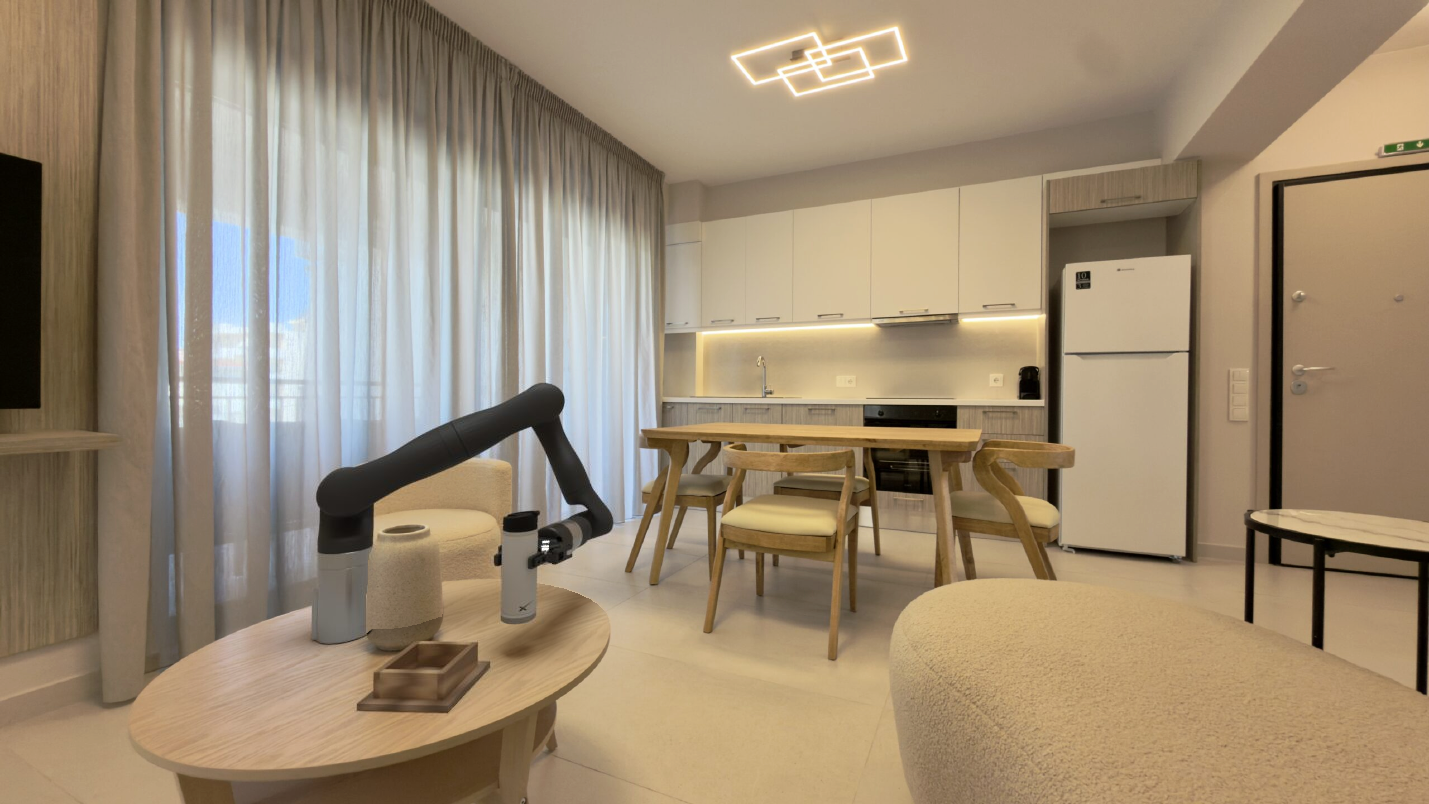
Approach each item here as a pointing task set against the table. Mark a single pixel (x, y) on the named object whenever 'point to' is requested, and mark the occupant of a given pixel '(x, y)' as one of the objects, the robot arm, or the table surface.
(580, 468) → the robot arm
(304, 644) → the table surface
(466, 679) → the mug holder
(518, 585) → the travel mug
